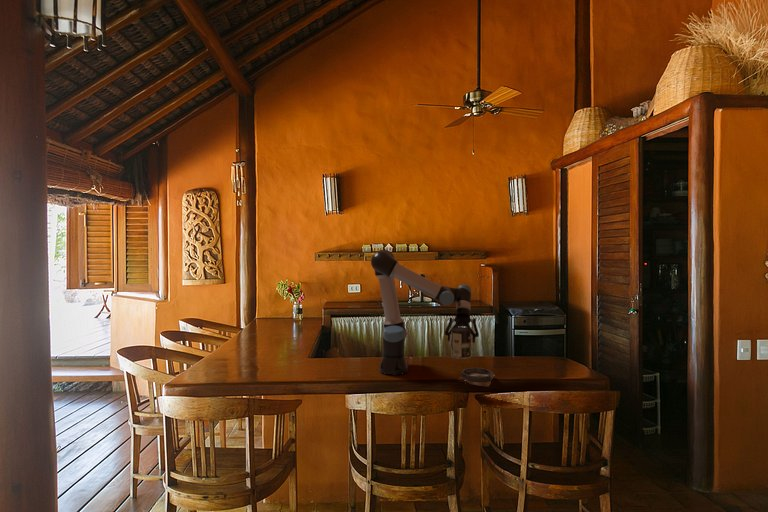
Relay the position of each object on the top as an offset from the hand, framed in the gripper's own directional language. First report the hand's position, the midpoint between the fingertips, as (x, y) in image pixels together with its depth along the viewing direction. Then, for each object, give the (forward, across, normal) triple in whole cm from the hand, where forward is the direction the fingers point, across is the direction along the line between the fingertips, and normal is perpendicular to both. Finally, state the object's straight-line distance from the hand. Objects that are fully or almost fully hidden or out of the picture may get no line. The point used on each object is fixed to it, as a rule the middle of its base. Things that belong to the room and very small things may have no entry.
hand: (460, 347), depth 242 cm
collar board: (+12, -8, -12) cm, 18 cm away
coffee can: (+2, 0, -6) cm, 6 cm away
